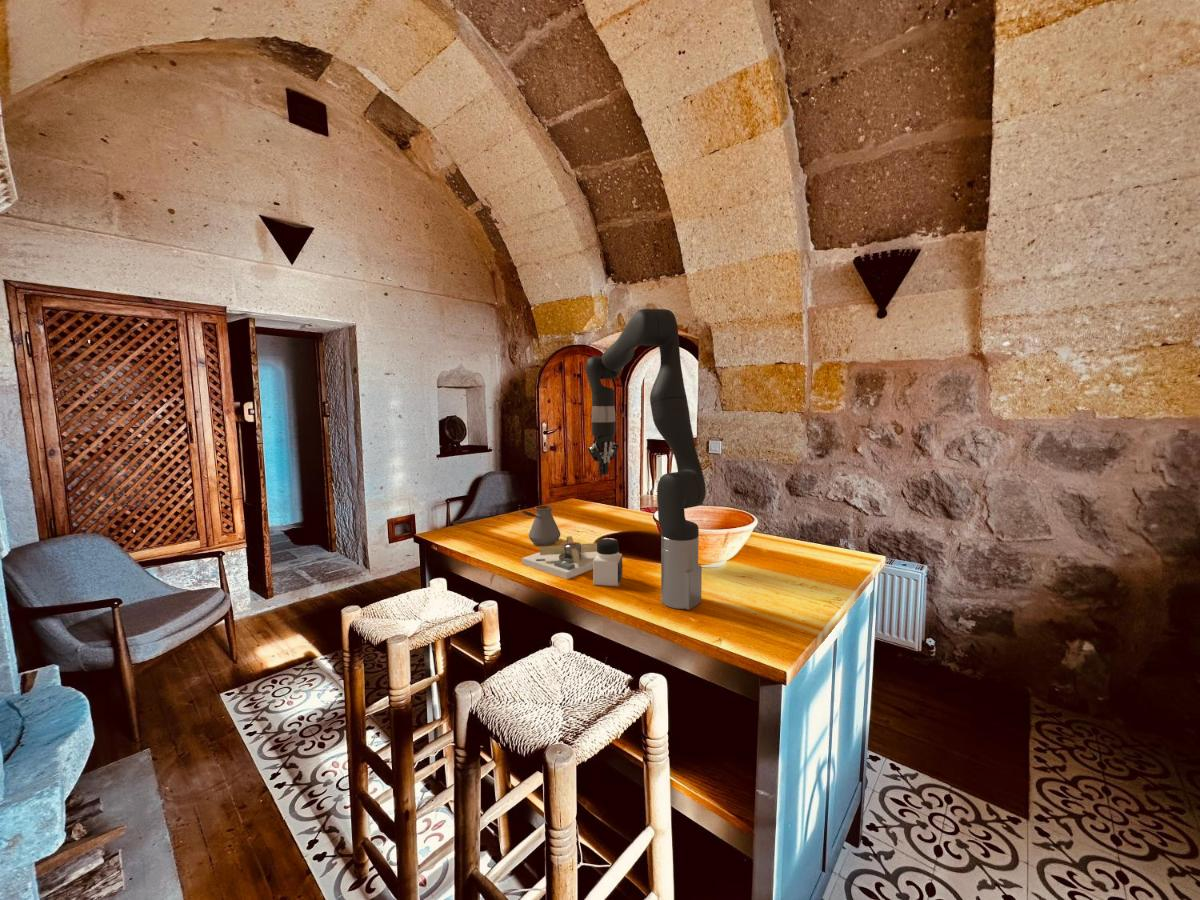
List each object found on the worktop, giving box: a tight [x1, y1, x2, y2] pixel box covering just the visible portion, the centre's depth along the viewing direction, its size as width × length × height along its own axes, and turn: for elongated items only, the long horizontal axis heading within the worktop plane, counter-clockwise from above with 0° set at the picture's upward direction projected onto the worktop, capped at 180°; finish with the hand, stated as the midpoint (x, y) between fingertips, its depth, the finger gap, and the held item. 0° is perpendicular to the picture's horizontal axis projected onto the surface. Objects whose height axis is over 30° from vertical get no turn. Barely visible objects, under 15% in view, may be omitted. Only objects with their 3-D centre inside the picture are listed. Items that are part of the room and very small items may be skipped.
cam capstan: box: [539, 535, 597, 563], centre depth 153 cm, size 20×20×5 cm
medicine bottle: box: [592, 537, 623, 587], centre depth 139 cm, size 7×7×12 cm
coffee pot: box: [518, 505, 561, 547], centre depth 172 cm, size 21×12×15 cm, turn 159°
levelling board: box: [521, 551, 597, 580], centre depth 155 cm, size 20×19×4 cm
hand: (604, 474), depth 158 cm, fingers closed
